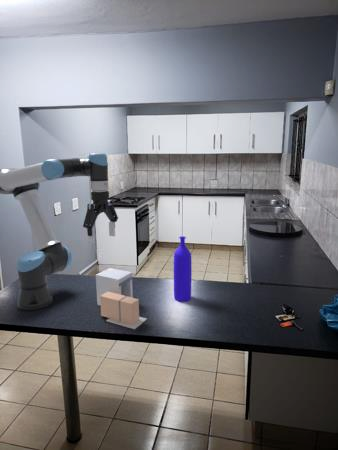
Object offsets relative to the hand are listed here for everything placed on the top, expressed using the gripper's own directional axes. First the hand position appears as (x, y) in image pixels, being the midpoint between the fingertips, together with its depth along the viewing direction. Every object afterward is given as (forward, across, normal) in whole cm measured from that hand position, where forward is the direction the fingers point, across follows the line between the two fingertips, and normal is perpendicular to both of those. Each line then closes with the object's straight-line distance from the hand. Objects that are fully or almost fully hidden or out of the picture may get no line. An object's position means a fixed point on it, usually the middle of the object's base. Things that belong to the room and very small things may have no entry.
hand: (102, 239), depth 147 cm
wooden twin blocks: (+30, -8, -14) cm, 34 cm away
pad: (+31, -8, -17) cm, 36 cm away
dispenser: (+31, +3, -3) cm, 31 cm away
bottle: (+31, +22, -28) cm, 47 cm away
